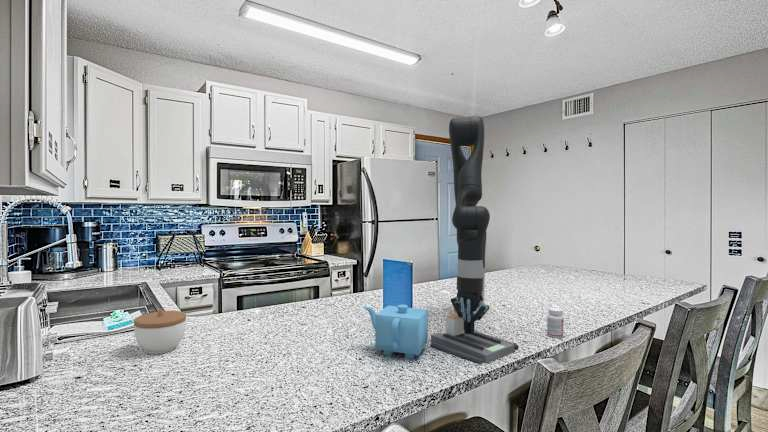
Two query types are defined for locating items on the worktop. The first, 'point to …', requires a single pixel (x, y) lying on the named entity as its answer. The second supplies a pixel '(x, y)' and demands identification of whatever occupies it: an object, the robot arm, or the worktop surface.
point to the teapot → (400, 329)
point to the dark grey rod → (500, 339)
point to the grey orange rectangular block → (454, 325)
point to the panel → (475, 345)
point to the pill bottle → (555, 323)
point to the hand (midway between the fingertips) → (468, 333)
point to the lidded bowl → (160, 330)
